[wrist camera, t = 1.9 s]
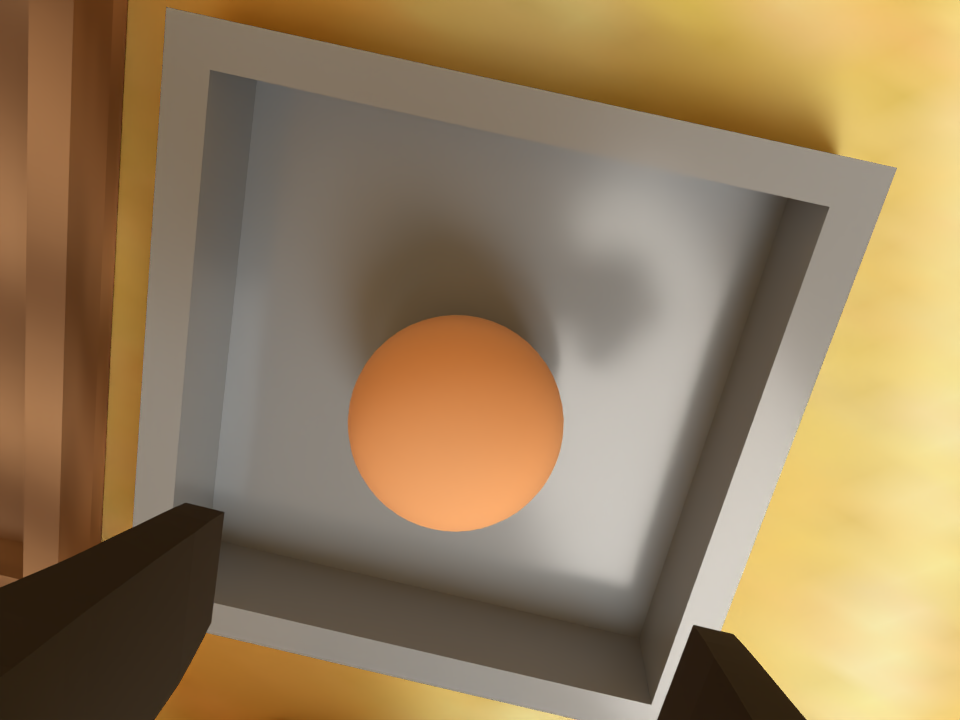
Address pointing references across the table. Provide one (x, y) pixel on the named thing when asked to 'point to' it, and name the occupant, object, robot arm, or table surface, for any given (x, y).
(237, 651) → the table surface
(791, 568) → the table surface
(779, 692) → the robot arm
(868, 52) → the table surface
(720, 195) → the dish
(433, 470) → the ball
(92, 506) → the tray
